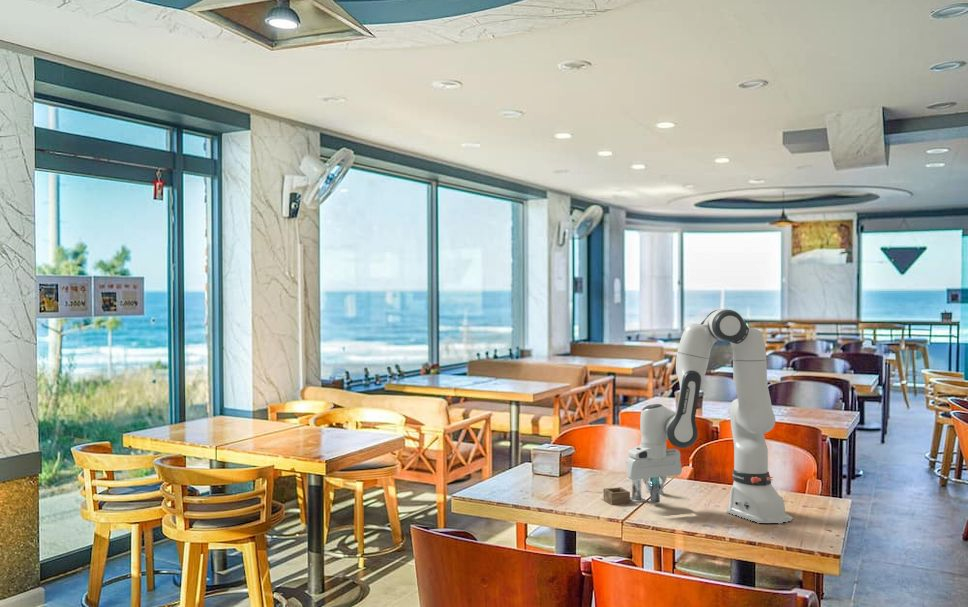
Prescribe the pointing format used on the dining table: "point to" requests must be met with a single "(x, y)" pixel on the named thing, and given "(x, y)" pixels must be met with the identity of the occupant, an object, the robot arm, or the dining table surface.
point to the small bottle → (655, 490)
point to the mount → (619, 497)
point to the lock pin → (636, 489)
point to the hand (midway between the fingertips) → (654, 489)
